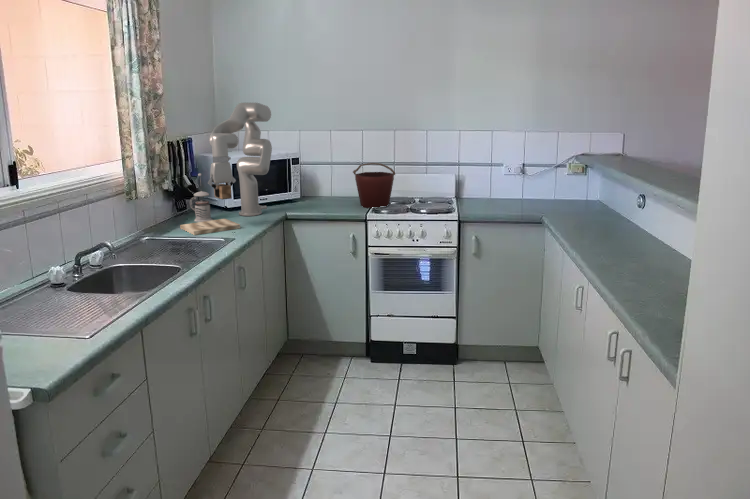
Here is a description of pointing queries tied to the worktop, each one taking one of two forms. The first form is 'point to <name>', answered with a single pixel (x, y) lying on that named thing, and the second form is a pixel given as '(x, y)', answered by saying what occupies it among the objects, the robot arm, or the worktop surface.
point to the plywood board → (210, 226)
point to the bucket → (374, 187)
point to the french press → (202, 207)
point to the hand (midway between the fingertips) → (222, 195)
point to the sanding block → (224, 191)
